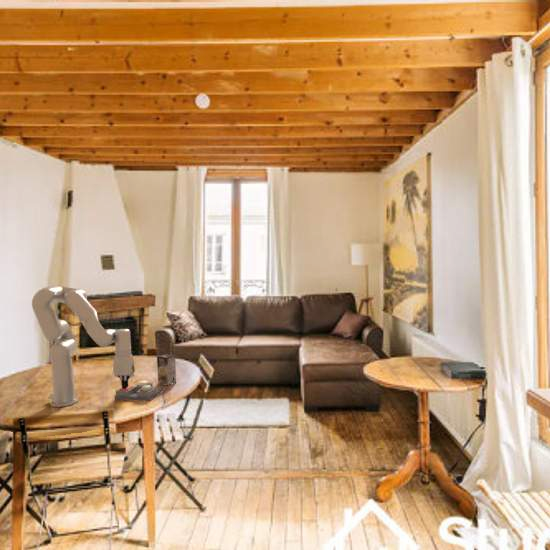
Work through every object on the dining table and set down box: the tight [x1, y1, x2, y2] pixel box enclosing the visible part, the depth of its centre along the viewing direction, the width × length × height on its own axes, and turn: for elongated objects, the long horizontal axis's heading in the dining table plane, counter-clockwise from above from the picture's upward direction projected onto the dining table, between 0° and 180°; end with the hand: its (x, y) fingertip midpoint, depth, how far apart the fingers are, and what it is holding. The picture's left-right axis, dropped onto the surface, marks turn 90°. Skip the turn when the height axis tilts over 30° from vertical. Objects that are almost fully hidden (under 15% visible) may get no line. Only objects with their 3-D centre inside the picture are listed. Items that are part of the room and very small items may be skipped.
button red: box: [120, 385, 131, 391], centre depth 207 cm, size 5×5×2 cm
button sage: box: [141, 385, 151, 391], centre depth 205 cm, size 5×5×2 cm
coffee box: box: [156, 353, 177, 386], centre depth 228 cm, size 9×6×16 cm
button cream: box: [137, 380, 149, 386], centre depth 213 cm, size 5×5×2 cm
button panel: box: [114, 382, 165, 402], centre depth 210 cm, size 20×15×4 cm
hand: (125, 387), depth 207 cm, fingers closed
